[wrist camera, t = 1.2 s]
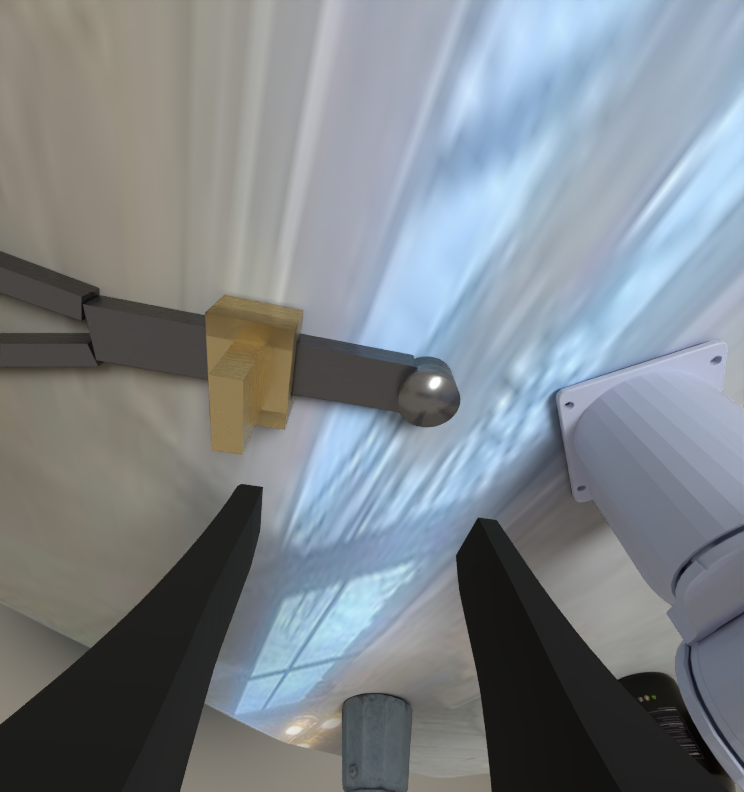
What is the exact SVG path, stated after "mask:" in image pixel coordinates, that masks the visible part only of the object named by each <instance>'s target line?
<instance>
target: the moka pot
mask: <svg viewBox="0 0 744 792" xmlns="http://www.w3.org/2000/svg"><path fill="white" fill-rule="evenodd" d="M411 726H412V709H411V707H410V706H409V705H408V704H407V703H406V702H405V701H403V700H401V699H399V698H395V697H392V696H389V695H383V694H363V695H358V696H354V697H352V698H349V699H348V700H347V701H346V702H345V703H344V705H343V709H342V783H343V784H342V785H343V790H344V791H345V792H407V790H408V776H409V758H410V741H411Z"/></svg>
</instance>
